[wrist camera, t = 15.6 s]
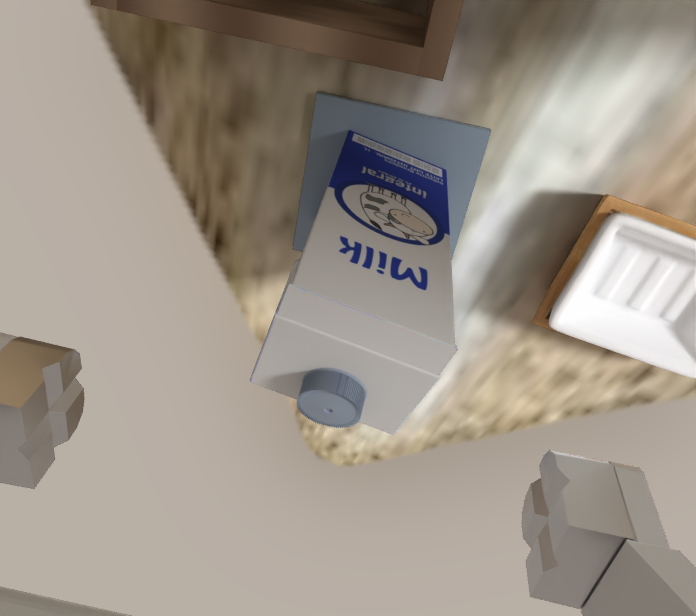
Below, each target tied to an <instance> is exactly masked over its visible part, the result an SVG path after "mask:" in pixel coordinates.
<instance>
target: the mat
mask: <svg viewBox="0 0 696 616" xmlns="http://www.w3.org/2000/svg"><path fill="white" fill-rule="evenodd" d="M349 130H351V131H353V132H356V133H358V134H361V135H363V136H366V137H368V138H370V139H373V140H375V141H378V142H380V143H382V144H385V145H387V146H390V147H392V148H395V149H397V150H399V151H402V152H404V153H407V154H409V155H412V156H414V157H416V158H419V159H421V160H424V161H426V162H428V163H431V164H433V165H436V166H438V167H441V168H443V169H445V170H447V187H448V207H449V226H450V246H451V260H452V257H453V253H454V250H455V247H456V244H457V240H458V237H459V234H460V231H461V227H462V224H463V221H464V218H465V214H466V211H467V208H468V205H469V201H470V198H471V195H472V192H473V188H474V185H475V182H476V179H477V175H478V172H479V169H480V166H481V162H482V159H483V156H484V153H485V149H486V146H487V143H488V140H489V136H490V133H491V129H488V128H484V127H479V126H474V125H470V124H465V123H461V122H456V121H451V120H447V119H442V118H438V117H433V116H428V115H424V114H419V113H415V112H410V111H405V110H401V109H396V108H392V107H387V106H382V105H378V104H373V103H369V102H364V101H359V100H355V99H350V98H346V97H341V96H336V95H332V94H327V93H323V92H317V93H316V100H315V107H314V113H313V120H312V126H311V133H310V139H309V146H308V152H307V159H306V165H305V172H304V178H303V185H302V191H301V198H300V204H299V211H298V217H297V224H296V230H295V237H294V243H293V250H298V251H302V252H303V249H304V246H305V244H306V241H307V238H308V236H309V233H310V230H311V228H312V225H313V223H314V220H315V217H316V215H317V212H318V209H319V207H320V204H321V202H322V199H323V197H324V194H325V191H326V189H327V186H328V184H329V181H330V178H331V176H332V173H333V171H334V168H335V165H336V163H337V160H338V158H339V155H340V152H341V150H342V147H343V145H344V142H345V139H346V137H347V134H348V132H349Z"/></svg>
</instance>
